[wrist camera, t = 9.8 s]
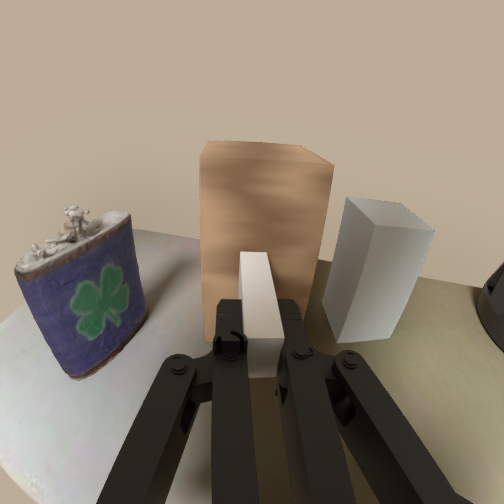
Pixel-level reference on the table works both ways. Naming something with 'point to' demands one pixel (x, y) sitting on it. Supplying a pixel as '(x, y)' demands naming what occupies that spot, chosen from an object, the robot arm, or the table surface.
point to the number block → (373, 268)
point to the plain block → (260, 218)
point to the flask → (85, 290)
